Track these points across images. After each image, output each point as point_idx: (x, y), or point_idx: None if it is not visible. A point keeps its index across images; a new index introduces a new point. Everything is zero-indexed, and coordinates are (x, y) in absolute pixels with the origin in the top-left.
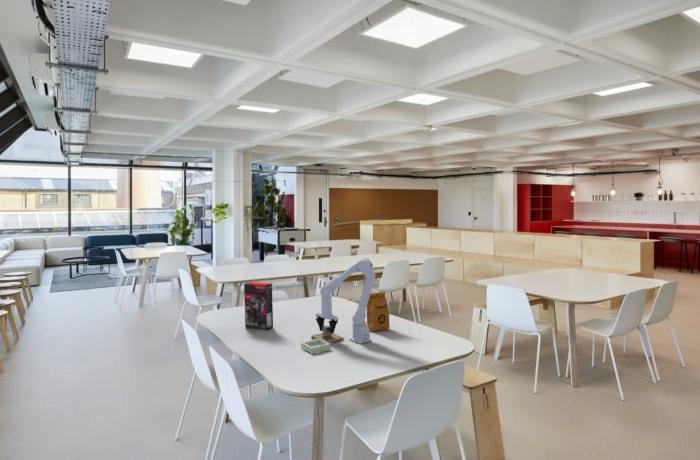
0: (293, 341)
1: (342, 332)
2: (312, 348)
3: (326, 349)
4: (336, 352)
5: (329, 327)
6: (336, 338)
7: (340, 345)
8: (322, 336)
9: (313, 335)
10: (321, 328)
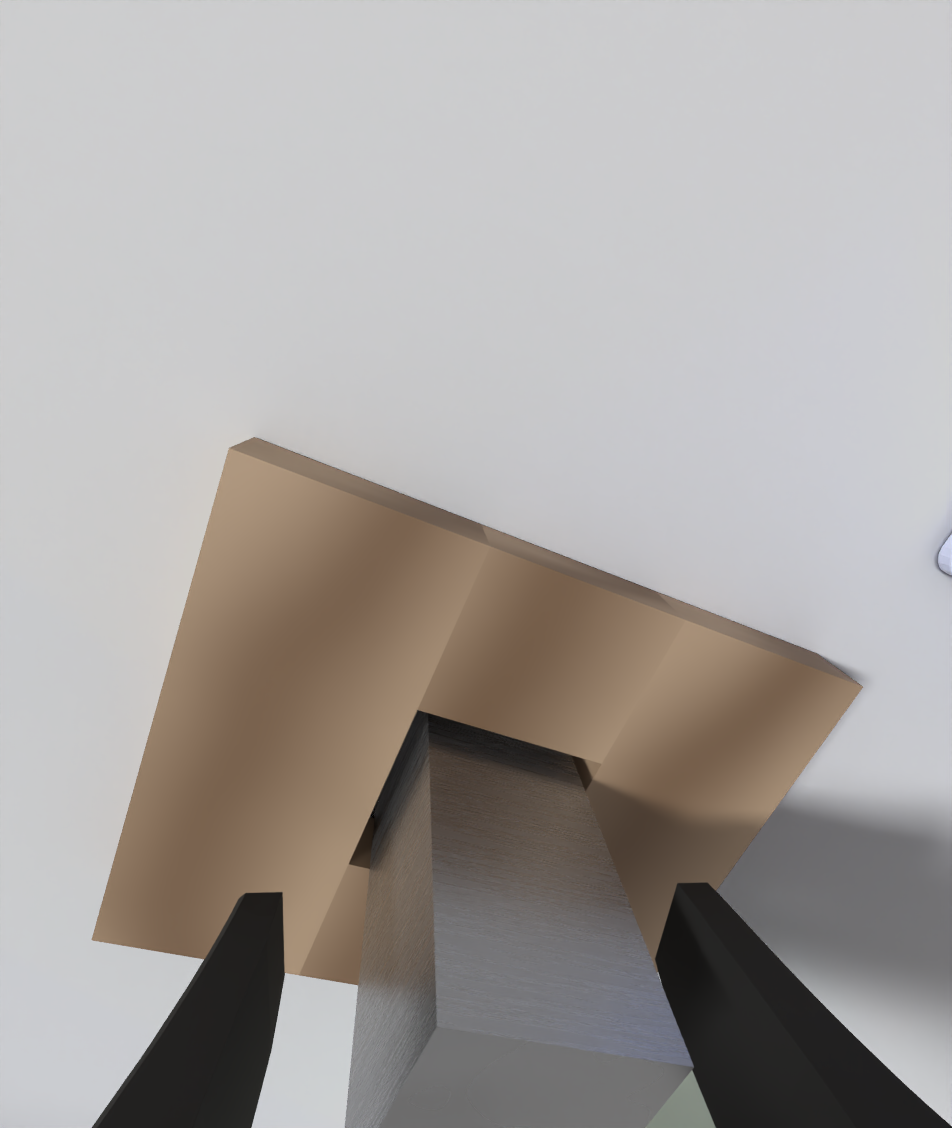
0: (17, 1118)
1: (480, 29)
2: None
3: None
4: (897, 1057)
5: (640, 1115)
6: (736, 805)
7: (858, 872)
8: (357, 843)
9: (130, 913)
10: (263, 1048)
